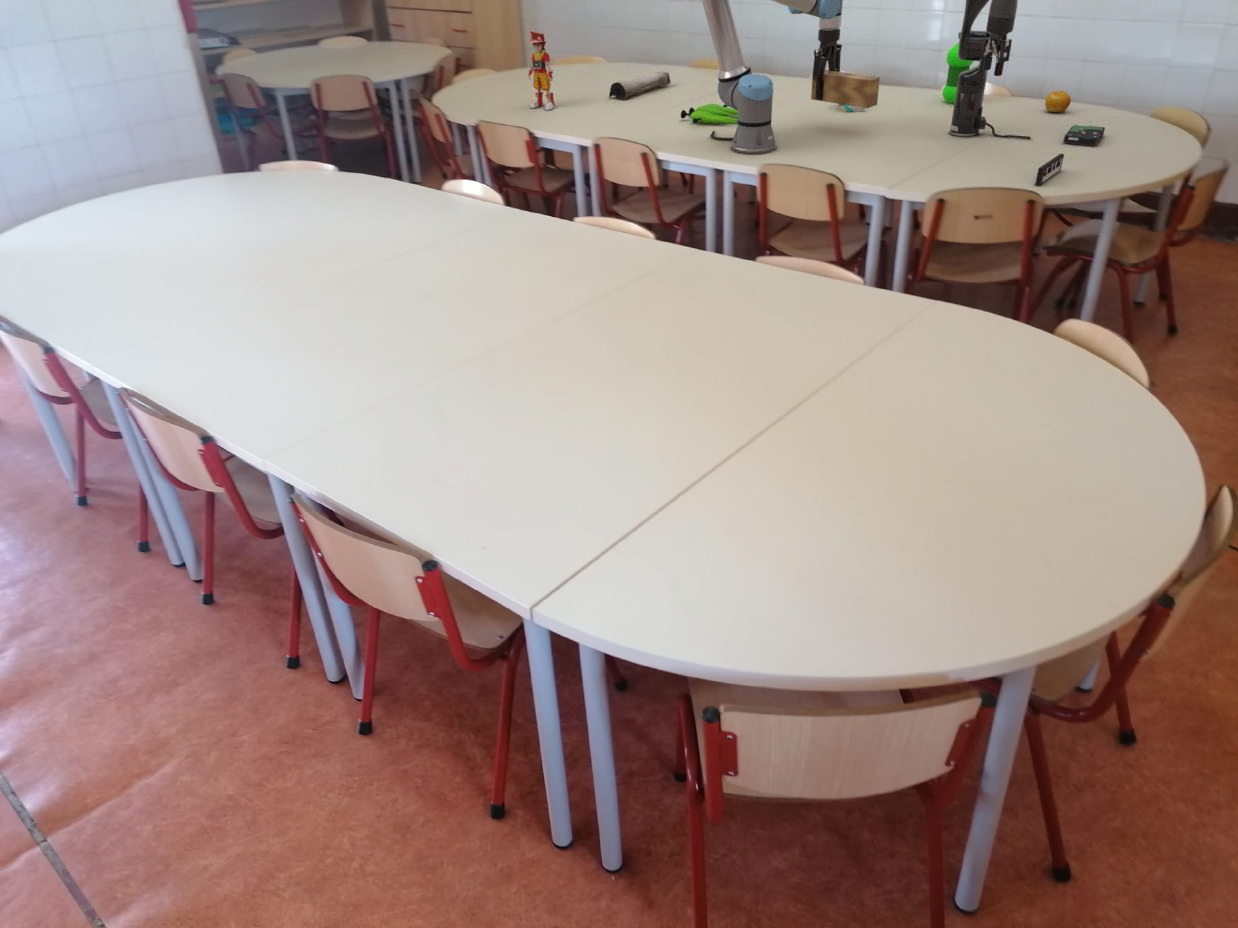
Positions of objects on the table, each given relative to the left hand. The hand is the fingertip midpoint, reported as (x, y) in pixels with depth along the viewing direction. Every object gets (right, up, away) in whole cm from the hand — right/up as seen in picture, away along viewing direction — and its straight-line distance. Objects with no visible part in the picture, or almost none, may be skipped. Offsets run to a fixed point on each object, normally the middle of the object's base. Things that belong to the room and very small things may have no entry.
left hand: (824, 97), depth 329 cm
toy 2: (-35, -1, +21) cm, 41 cm away
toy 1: (-108, +17, +54) cm, 122 cm away
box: (+6, -4, -5) cm, 8 cm away
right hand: (+39, -15, -55) cm, 69 cm away
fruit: (+88, -3, +6) cm, 89 cm away
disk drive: (+83, -25, -24) cm, 90 cm away
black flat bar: (+56, -47, -55) cm, 91 cm away
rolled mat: (-66, +30, +68) cm, 99 cm away
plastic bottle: (+57, +8, +26) cm, 63 cm away
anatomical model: (+15, +7, +27) cm, 32 cm away
